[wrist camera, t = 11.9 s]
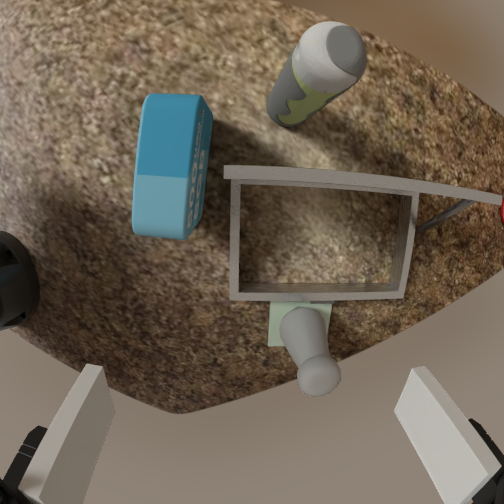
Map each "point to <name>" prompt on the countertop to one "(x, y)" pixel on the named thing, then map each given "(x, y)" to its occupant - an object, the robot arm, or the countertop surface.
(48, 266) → the countertop surface
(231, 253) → the case
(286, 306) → the pad
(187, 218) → the data package
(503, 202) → the beverage can
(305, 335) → the salt shaker
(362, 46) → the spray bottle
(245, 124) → the countertop surface
